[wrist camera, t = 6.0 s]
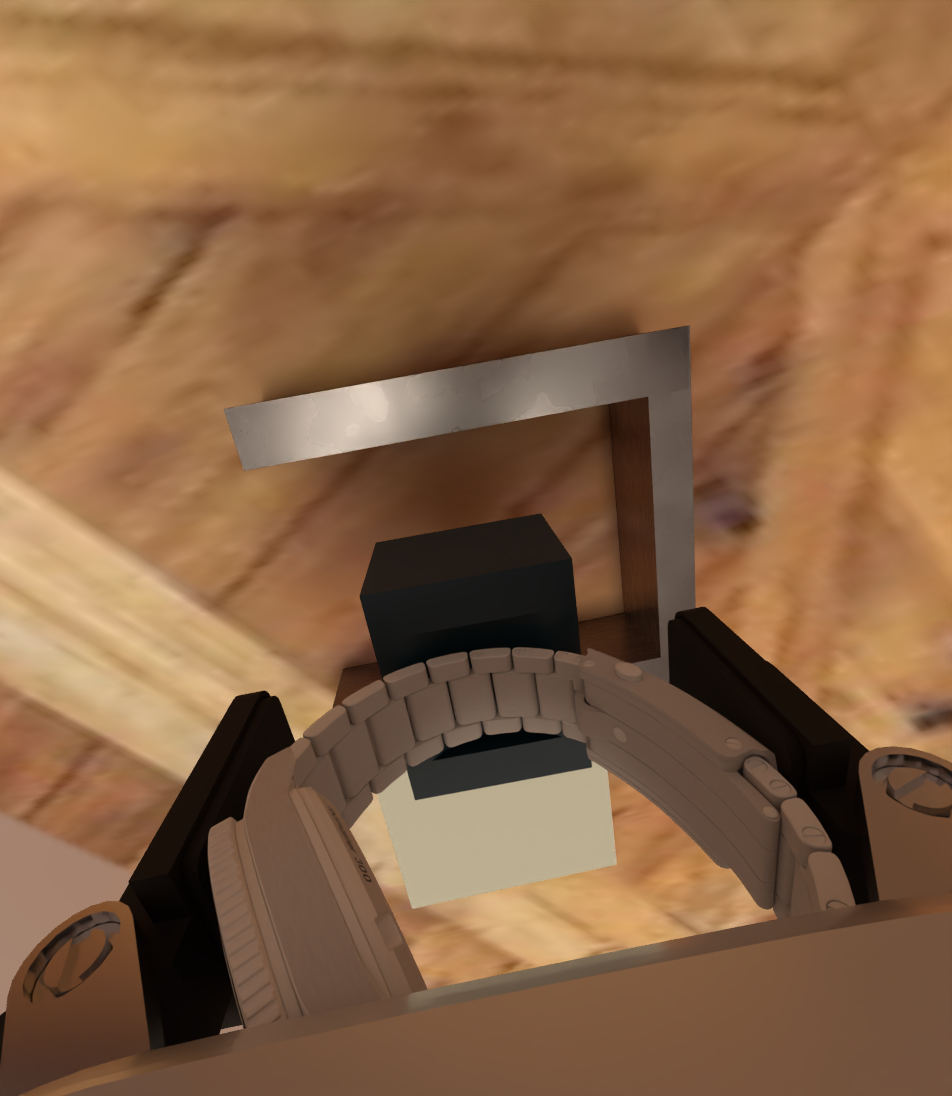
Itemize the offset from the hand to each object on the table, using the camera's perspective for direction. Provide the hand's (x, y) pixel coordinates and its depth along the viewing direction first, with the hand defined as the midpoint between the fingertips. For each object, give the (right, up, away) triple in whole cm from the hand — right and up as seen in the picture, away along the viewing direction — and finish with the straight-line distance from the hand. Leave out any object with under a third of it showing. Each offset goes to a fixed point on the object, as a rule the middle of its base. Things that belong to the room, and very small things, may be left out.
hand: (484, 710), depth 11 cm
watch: (0, +1, +4) cm, 4 cm away
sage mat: (+1, -10, +17) cm, 20 cm away
